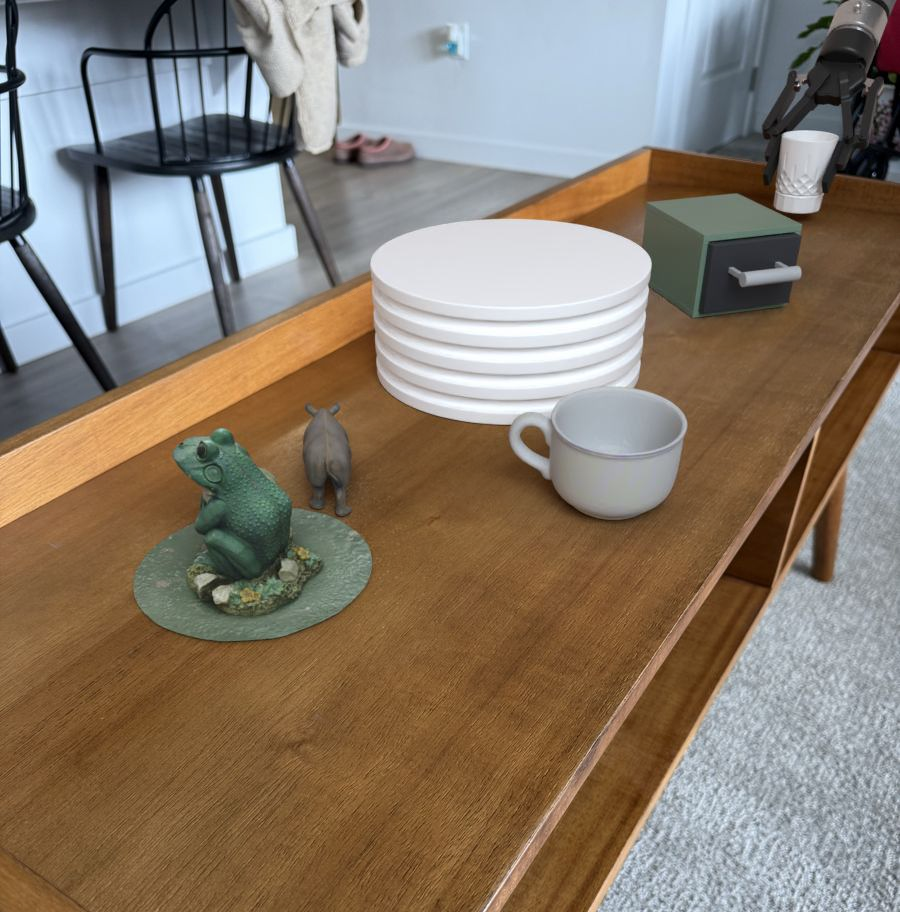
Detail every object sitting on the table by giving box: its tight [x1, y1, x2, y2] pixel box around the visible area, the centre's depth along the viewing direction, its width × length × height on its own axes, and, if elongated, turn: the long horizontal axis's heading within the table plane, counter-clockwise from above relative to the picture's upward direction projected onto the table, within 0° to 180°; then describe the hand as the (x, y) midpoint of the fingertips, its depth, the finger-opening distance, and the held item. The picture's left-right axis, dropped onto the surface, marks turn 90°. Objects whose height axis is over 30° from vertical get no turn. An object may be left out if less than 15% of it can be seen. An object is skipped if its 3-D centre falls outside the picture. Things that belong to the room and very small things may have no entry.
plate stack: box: [369, 218, 652, 426], centre depth 100 cm, size 28×28×12 cm
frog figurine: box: [132, 427, 373, 642], centre depth 70 cm, size 18×18×12 cm
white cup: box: [773, 129, 840, 215], centre depth 142 cm, size 8×8×10 cm
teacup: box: [508, 386, 688, 521], centre depth 79 cm, size 14×11×8 cm
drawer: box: [699, 233, 803, 314], centre depth 115 cm, size 18×11×8 cm, turn 17°
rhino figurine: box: [301, 402, 353, 517], centre depth 83 cm, size 4×14×6 cm, turn 9°
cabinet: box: [641, 193, 803, 319], centre depth 118 cm, size 15×13×10 cm
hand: (795, 183), depth 140 cm, fingers closed on white cup, 8 cm apart
